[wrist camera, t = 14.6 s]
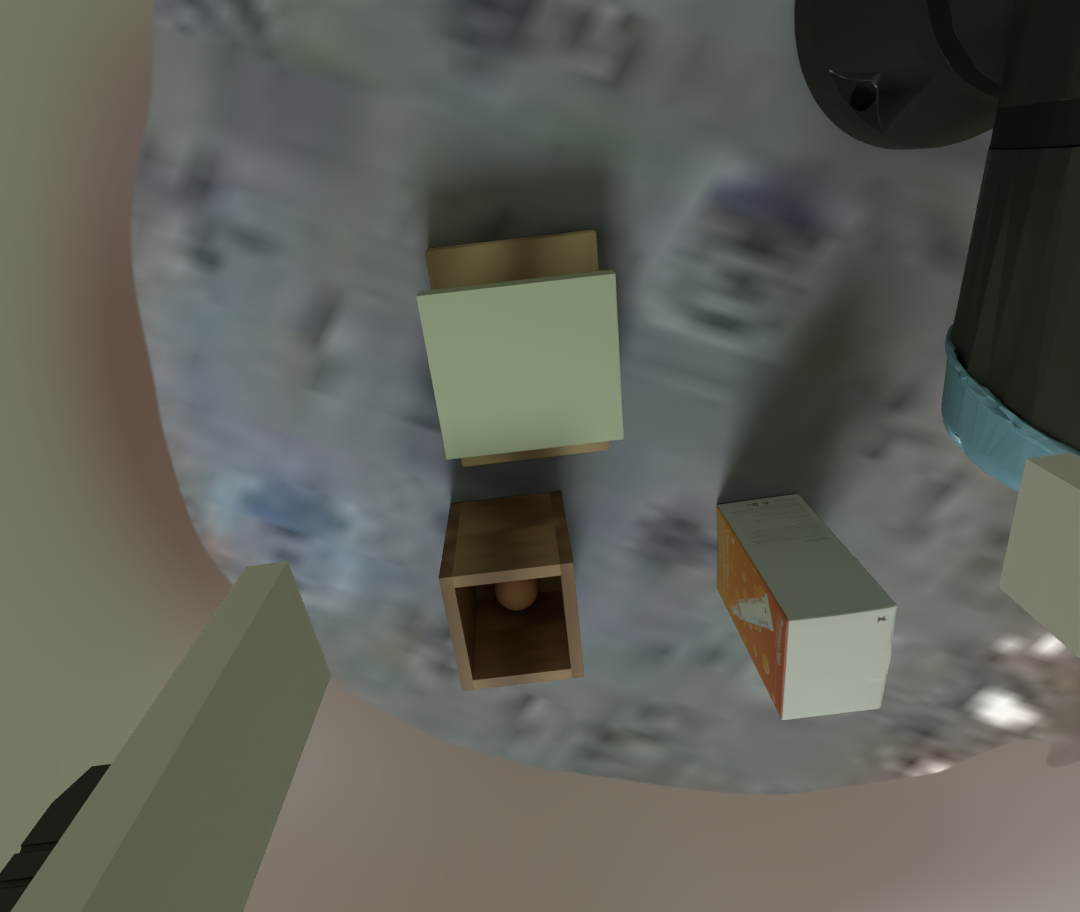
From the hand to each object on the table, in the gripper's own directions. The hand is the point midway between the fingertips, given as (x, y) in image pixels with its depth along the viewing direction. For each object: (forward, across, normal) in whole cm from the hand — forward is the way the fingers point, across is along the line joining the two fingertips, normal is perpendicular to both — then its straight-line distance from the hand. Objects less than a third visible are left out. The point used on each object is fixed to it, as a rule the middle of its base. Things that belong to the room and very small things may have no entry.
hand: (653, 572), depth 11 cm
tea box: (+30, -6, -19) cm, 36 cm away
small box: (+31, +12, -22) cm, 39 cm away
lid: (+27, -3, -4) cm, 27 cm away
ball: (+29, -6, -20) cm, 36 cm away
